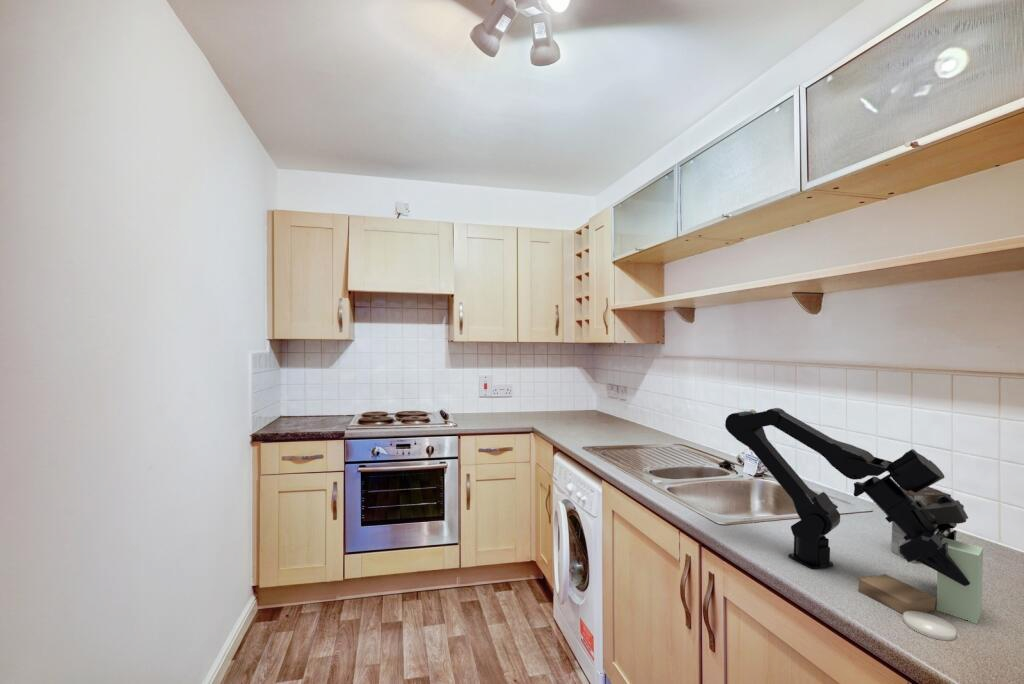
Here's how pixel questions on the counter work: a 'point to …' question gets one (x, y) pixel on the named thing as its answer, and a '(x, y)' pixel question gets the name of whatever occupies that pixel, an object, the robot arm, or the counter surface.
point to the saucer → (929, 625)
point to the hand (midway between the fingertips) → (970, 580)
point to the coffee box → (927, 498)
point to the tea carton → (952, 593)
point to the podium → (896, 594)
